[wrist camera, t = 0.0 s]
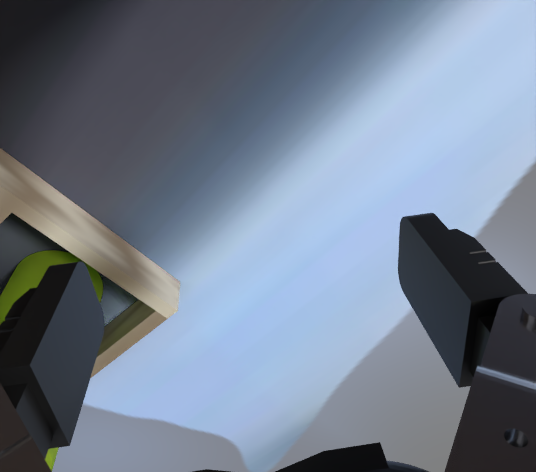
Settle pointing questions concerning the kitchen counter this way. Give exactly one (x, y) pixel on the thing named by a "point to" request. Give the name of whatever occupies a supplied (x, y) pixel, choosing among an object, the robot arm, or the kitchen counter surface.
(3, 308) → the soap dispenser
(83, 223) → the caddy
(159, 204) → the kitchen counter surface
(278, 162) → the kitchen counter surface
